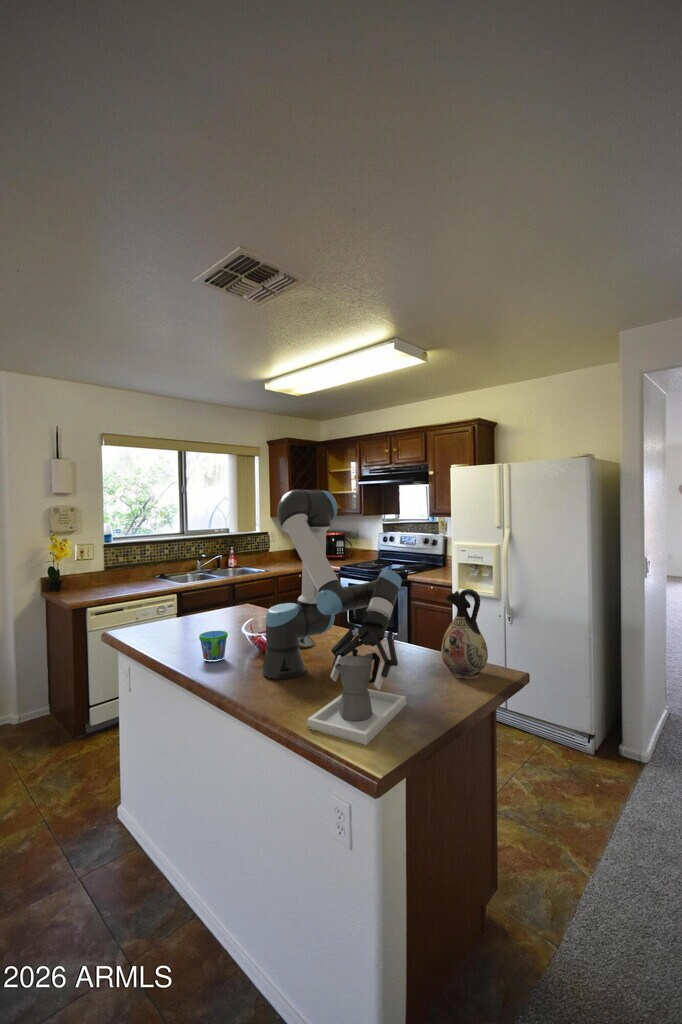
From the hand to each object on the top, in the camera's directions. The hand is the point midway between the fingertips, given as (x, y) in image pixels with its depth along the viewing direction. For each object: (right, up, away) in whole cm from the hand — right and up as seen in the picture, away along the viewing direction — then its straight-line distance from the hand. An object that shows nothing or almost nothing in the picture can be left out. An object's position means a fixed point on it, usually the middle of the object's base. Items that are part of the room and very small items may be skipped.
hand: (354, 683), depth 124 cm
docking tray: (+1, -10, +2) cm, 10 cm away
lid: (-20, -10, +69) cm, 73 cm away
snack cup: (-53, -11, +52) cm, 75 cm away
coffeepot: (+1, -9, +2) cm, 10 cm away
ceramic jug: (+39, -9, +31) cm, 51 cm away
